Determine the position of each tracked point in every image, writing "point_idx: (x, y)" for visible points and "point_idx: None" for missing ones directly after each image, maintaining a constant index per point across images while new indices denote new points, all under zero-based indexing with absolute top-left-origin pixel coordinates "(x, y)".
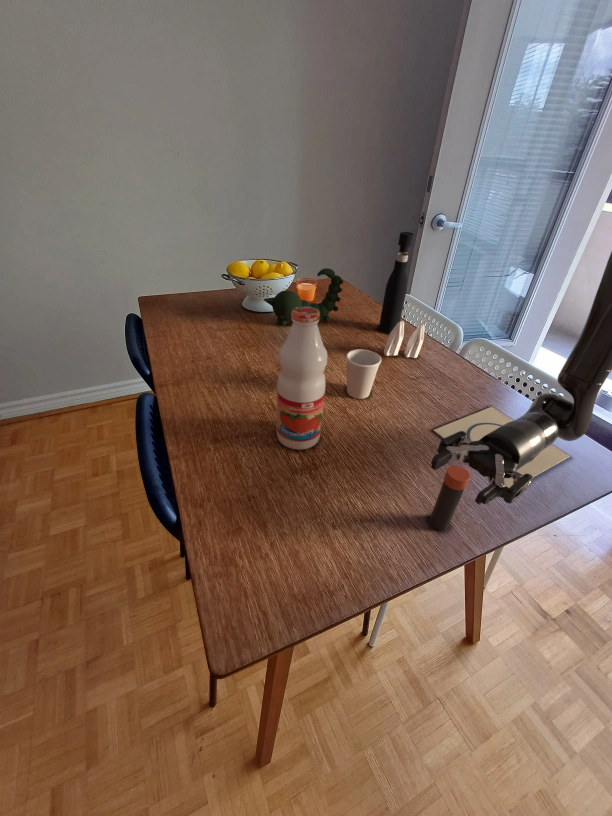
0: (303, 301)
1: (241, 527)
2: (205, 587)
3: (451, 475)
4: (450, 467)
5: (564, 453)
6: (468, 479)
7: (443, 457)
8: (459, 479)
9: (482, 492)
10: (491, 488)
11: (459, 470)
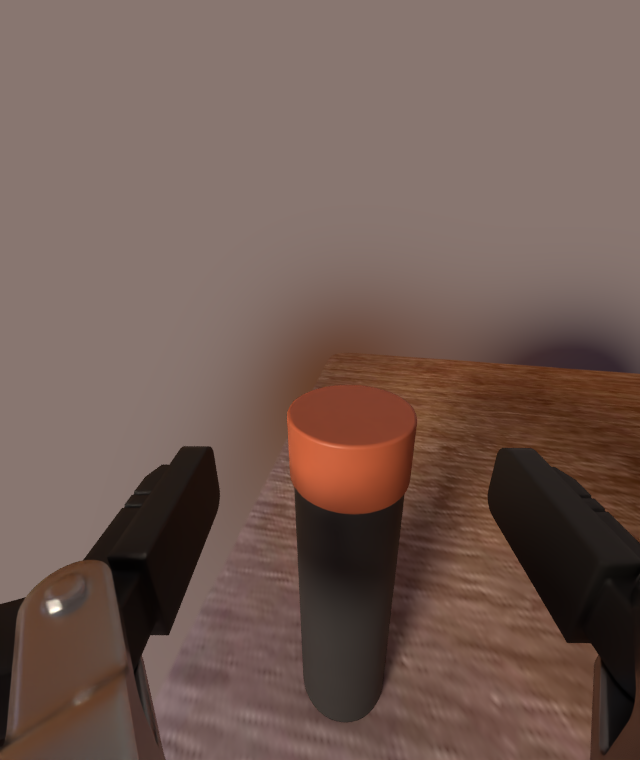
0: None
1: (481, 384)
2: (409, 358)
3: (357, 388)
4: (406, 408)
5: None
6: (288, 417)
7: (538, 482)
8: (317, 393)
9: (193, 452)
10: (147, 501)
11: (364, 422)
